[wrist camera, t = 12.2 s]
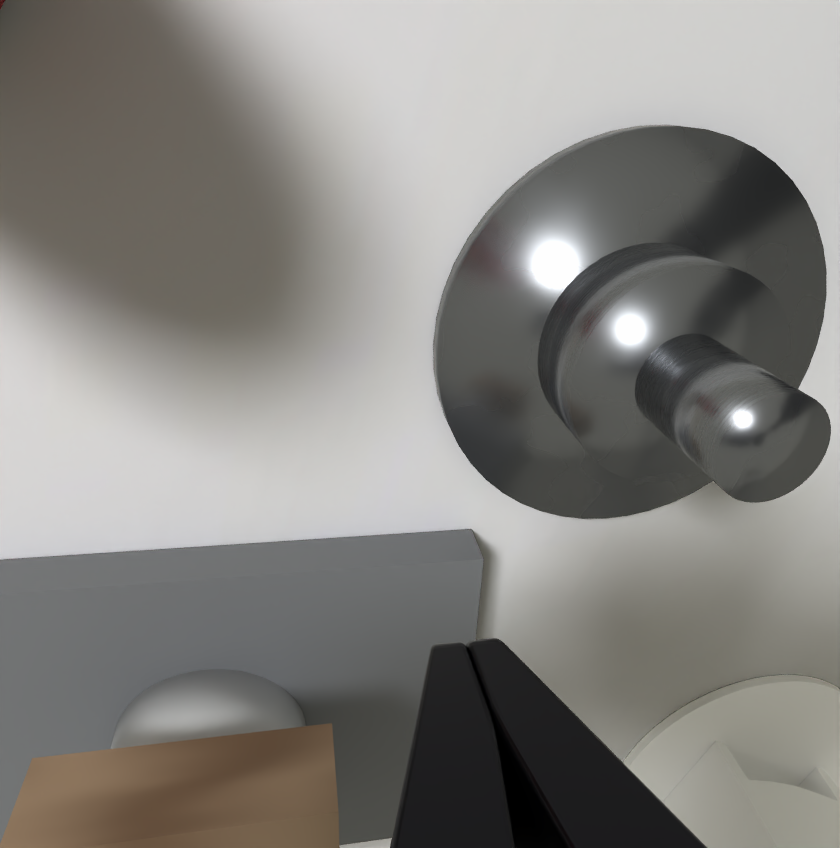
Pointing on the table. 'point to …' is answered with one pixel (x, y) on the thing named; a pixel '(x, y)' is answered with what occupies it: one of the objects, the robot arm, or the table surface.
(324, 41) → the table surface
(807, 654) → the table surface
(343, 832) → the board
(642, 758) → the panda figurine
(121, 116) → the table surface
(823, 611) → the table surface
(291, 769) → the wooden square frame
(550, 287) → the stand
